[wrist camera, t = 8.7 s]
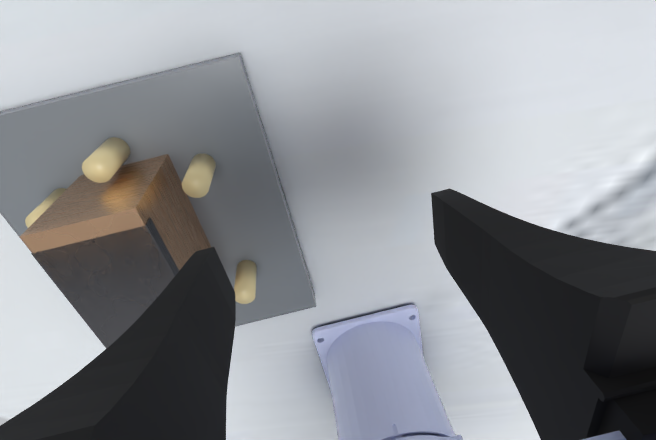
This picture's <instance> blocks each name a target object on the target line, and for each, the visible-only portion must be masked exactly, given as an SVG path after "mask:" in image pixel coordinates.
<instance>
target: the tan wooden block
mask: <svg viewBox="0 0 656 440" xmlns="http://www.w3.org/2000/svg"><path fill="white" fill-rule="evenodd" d="M20 238H21V239H22V241H23V242H24V243H25V244H26V246H27V247H28V248H29V249H30V251H31V252H32V253H31V254H32V255H33V256H34V258H35V259H36V260H37V261H38V263H39V264H40V265H41V266H42V268H43V269H44V270H45V272H46V273H47V274H48V275H49V277H50V278H51V279H52V280H53V282H54V283H55V284H56V285H57V287H58V288H59V289H60V290H61V292H62V293H63V294H64V295H65V297H66V298H67V299H68V301H69V302H70V303H71V304H72V306H73V307H74V308H75V309H76V311H77V312H78V313H79V314H80V316H81V317H82V318H83V319H84V321H85V322H86V323H87V325H88V326H89V327H90V328H91V330H92V331H93V332H94V333H95V335H96V336H97V337H98V338H99V340H100V341H101V342H102V343H103V345H104V346H105V347H106V348H108V347H109V346H110V345H111V344H113V343H114V342H115V341H116V340H117V339H118V338H119V337H120V336H121V335H122V334H123V333H124V332H125V331H126V330H127V329H128V328H129V327H130V326H131V325H132V324H133V323H134V322H135V321H136V320H137V319H138V318H139V317H140V316H141V315H142V314H143V313H144V312H145V311H146V309H147V308H148V307H149V306H150V305H151V304H152V303H153V302H154V301H155V299H156V298H157V297H158V296H159V295H160V294H161V293H162V291H163V290H164V289H165V288H166V287H167V285H168V284H169V283H170V282H171V280H172V279H173V278H174V277H175V276H176V274H177V273H178V272H179V271H180V269H181V268H182V267H183V266H184V264H185V263H186V262H187V261H188V259H189V258H190V257H191V256H192V255H193V254H194V253H195V252H196V251H199V250H203V249H207V248H211V245H210V243H209V241H208V239H207V237H206V234H205V232H204V230H203V228H202V226H201V224H200V222H199V219H198V217H197V215H196V213H195V211H194V209H193V206H192V204H191V202H190V200H189V198H188V196H187V194H186V193H185V192H184V191H183V189H182V183H181V181H180V178H179V176H178V174H177V172H176V170H175V168H174V166H173V163H172V161H171V159H170V157H169V155H168V154H166V155H162V156H158V157H154V158H149V159H145V160H141V161H137V162H133V163H129V164H125V165H121V167H120V168H119V169H118V170H117V172H116V173H115V174H114V175H113V176H112V178H111V179H110V180H109V181H107V182H104V183H97V182H94V181H92V180H90V179H88V178H87V177H86V176H85V174H84V175H80V176H79V177H78V178H77V179H76V180H75V181H74V182H73V183H72V184H71V185H70V186H69V187H68V188H67V189H66V190H65V191H64V192H63V193H62V195H61V196H60V197H59V198H58V199H57V200H56V201H55V202H54V203H53V204H52V205H51V206H50V207H49V208H48V209H47V210H46V211H45V212H44V213H43V214H42V215H41V216H40V217H39V218H38V219H37V220H36V221H35V222H34V223H33V224H32V225H31V226H30V227H29V228H28V229H27V230H26V231H25V232H24V233H23V234H22V235H21V236H20Z"/></svg>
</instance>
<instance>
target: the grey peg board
mask: <svg viewBox="0 0 656 440" xmlns="http://www.w3.org/2000/svg"><path fill="white" fill-rule="evenodd" d="M166 154H168V155H169V157H170V159H171V161H172V163H173V166H174V168H175V170H176V172H177V174H178V176H179V178H180V181H181V183H182V189H183V191H184V192H185V193H186V194H187V196H188V198H189V200H190V202H191V204H192V206H193V209H194V211H195V213H196V215H197V217H198V219H199V222H200V224H201V226H202V228H203V230H204V232H205V234H206V237H207V239H208V241H209V243H210V245H211V247H214V248H215V250H216V252H217V254H218V256H219V258H220V261H221V263H222V265H223V267H224V269H225V271H226V274H227V276H228V278H229V280H230V282H231V285H232V287H233V289H234V291H235V302H236V321H235V326H239V325H243V324H247V323H251V322H255V321H259V320H263V319H267V318H271V317H275V316H279V315H284V314H288V313H292V312H296V311H300V310H304V309H308V308H312V307H316V301H315V294H314V291H313V288H312V285H311V281H310V278H309V275H308V272H307V268H306V265H305V262H304V259H303V255H302V252H301V249H300V246H299V242H298V239H297V236H296V233H295V229H294V226H293V223H292V220H291V216H290V213H289V210H288V207H287V203H286V200H285V197H284V194H283V190H282V187H281V184H280V181H279V177H278V174H277V171H276V167H275V164H274V161H273V158H272V154H271V151H270V148H269V145H268V141H267V138H266V135H265V132H264V128H263V125H262V122H261V119H260V115H259V112H258V109H257V106H256V102H255V99H254V96H253V93H252V89H251V86H250V83H249V80H248V76H247V73H246V70H245V67H244V63H243V60H242V57H241V54H240V53H237V54H233V55H229V56H225V57H221V58H217V59H213V60H209V61H205V62H201V63H197V64H192V65H188V66H184V67H180V68H176V69H172V70H168V71H164V72H160V73H156V74H152V75H148V76H144V77H140V78H136V79H131V80H127V81H123V82H119V83H115V84H111V85H107V86H103V87H99V88H95V89H91V90H87V91H83V92H79V93H74V94H70V95H66V96H62V97H58V98H54V99H50V100H46V101H42V102H38V103H34V104H30V105H26V106H22V107H18V108H13V109H9V110H5V111H1V112H0V213H1V214H2V216H3V217H4V218H5V219H6V221H7V222H8V223H9V224H10V226H11V227H12V228H13V230H14V231H15V232H16V233H17V235H18V236H19V237H20V236H21V235H22V234H23V233H24V232H25V231H26V230H27V229H28V228H29V227H30V226H31V225H32V224H33V223H34V222H35V221H36V220H37V219H38V218H39V217H40V216H41V215H42V214H43V213H44V212H45V211H46V210H47V209H48V208H49V207H50V206H51V205H52V204H53V203H54V202H55V201H56V200H57V199H58V198H59V197H60V196H61V195H62V193H63V192H64V191H65V190H66V189H67V188H68V187H69V186H70V185H71V184H72V183H73V182H74V181H75V180H76V179H77V178H78V177H79V176H80V175H84V174H85V176H86V177H87V178H88V179H90V180H92V181H94V182H97V183H104V182H107V181H109V180H110V179H111V178H112V176H113V175H114V174H115V173H116V172H117V170H118V169H119V168H120V167H121V165H125V164H129V163H133V162H137V161H141V160H145V159H149V158H154V157H158V156H162V155H166ZM21 240H22V239H21ZM25 245H26V244H25ZM29 250H30V249H29Z"/></svg>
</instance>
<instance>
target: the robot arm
mask: <svg viewBox="0 0 656 440" xmlns="http://www.w3.org/2000/svg"><path fill="white" fill-rule="evenodd" d="M431 195H432V210H433V225H434V240H435V245H436V247H437V250H438V252H439V254H440V256H441V258H442V260H443V262H444V264H445V266H446V268H447V270H448V271H449V273H450V274H451V276H452V277H453V279H454V280H455V282H456V283H457V285H458V286H459V288H460V289H461V291H462V292H463V294H464V295H465V297H466V298H467V300H468V301H469V303H470V304H471V306H472V307H473V309H474V310H475V312H476V313H477V315H478V316H479V317H480V319H481V321H482V322H483V324H484V325H485V327H486V329H487V330H488V332H489V334H490V336H491V338H492V340H493V342H494V343H495V345H496V347H497V349H498V351H499V353H500V355H501V357H502V359H503V361H504V363H505V365H506V367H507V369H508V371H509V373H510V375H511V377H512V379H513V381H514V383H515V385H516V387H517V389H518V391H519V393H520V395H521V397H522V399H523V401H524V404H525V406H526V408H527V410H528V412H529V414H530V416H531V418H532V421H533V423H534V425H535V427H536V429H537V432H538V434H539V436H540V438H541V440H656V251H651V250H644V249H637V248H630V247H624V246H618V245H612V244H607V243H602V242H597V241H593V240H588V239H583V238H579V237H575V236H571V235H567V234H564V233H560V232H557V231H553V230H550V229H547V228H543V227H540V226H537V225H534V224H531V223H529V222H526V221H523V220H521V219H518V218H515V217H513V216H510V215H508V214H505V213H503V212H501V211H498V210H496V209H494V208H491V207H489V206H487V205H485V204H483V203H480V202H478V201H476V200H474V199H472V198H470V197H468V196H465V195H463V194H461V193H459V192H457V191H454V190H452V189H447V190H443V191H439V192H435V193H431ZM411 315H413V316H411ZM235 321H236V302H235V291H234V289H233V287H232V285H231V282H230V280H229V278H228V276H227V274H226V271H225V269H224V267H223V265H222V263H221V261H220V258H219V256H218V254H217V252H216V250H215V248H214V247H211V248H207V249H203V250H199V251H196V252H195V253H194V254H193V255H192V256H191V257H190V258H189V259H188V261H187V262H186V263H185V264H184V266H183V267H182V268H181V269H180V271H179V272H178V273H177V274H176V276H175V277H174V278H173V279H172V280H171V282H170V283H169V284H168V285H167V287H166V288H165V289H164V290H163V291H162V293H161V294H160V295H159V296H158V297H157V298H156V299H155V301H154V302H153V303H152V304H151V305H150V306H149V307H148V308H147V309H146V311H145V312H144V313H143V314H142V315H141V316H140V317H139V318H138V319H137V320H136V321H135V322H134V323H133V324H132V325H131V326H130V327H129V328H128V329H127V330H126V331H125V332H124V333H123V334H122V335H121V336H120V337H119V338H118V339H117V340H116V341H115V342H114V343H113V344H111V345H110V346H109V347H108V348H107V349H106V350H105V351H103V352H102V353H101V354H100V355H99V356H97V357H96V358H95V359H94V360H93V361H91V362H90V363H89V364H88V365H86V366H85V367H84V368H83V369H82V370H80V371H79V372H78V373H77V374H75V375H74V376H73V377H71V378H70V379H69V380H67V381H66V382H65V383H63V384H62V385H61V386H59V387H58V388H57V389H55V390H54V391H52V392H51V393H49V394H48V395H47V396H45V397H44V398H42V399H41V400H39V401H38V402H37V403H35V404H34V405H32V406H31V407H29V408H28V409H26V410H24V411H23V412H21V413H20V414H18V415H17V416H15V417H13V418H12V419H10V420H9V421H7V422H6V423H4V424H3V425H1V426H0V440H226V395H227V384H228V376H229V368H230V361H231V353H232V346H233V338H234V330H235ZM312 337H313V340H314V343H315V346H316V349H317V352H318V355H319V358H320V360H321V363H322V366H323V369H324V372H325V375H326V378H327V381H328V384H329V387H330V390H331V393H332V399H333V406H334V413H335V419H336V426H337V433H338V439H339V440H463V439H462V436H461V435H456V436H455V433H454V431H453V428H452V426H451V424H450V421H449V419H448V416H447V414H446V411H445V409H444V407H443V404H442V402H441V399H440V397H439V394H438V392H437V389H436V387H435V385H434V382H433V380H432V377H431V375H430V372H429V370H428V368H427V365H426V363H425V360H424V358H423V349H422V340H421V331H420V322H419V313H418V309H417V307H416V306H415V305H407V306H403V307H399V308H395V309H391V310H386V311H382V312H378V313H374V314H370V315H366V316H362V317H358V318H354V319H350V320H346V321H342V322H338V323H334V324H330V325H325V326H321V327H317V328H315V329H314V330H313V331H312Z"/></svg>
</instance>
